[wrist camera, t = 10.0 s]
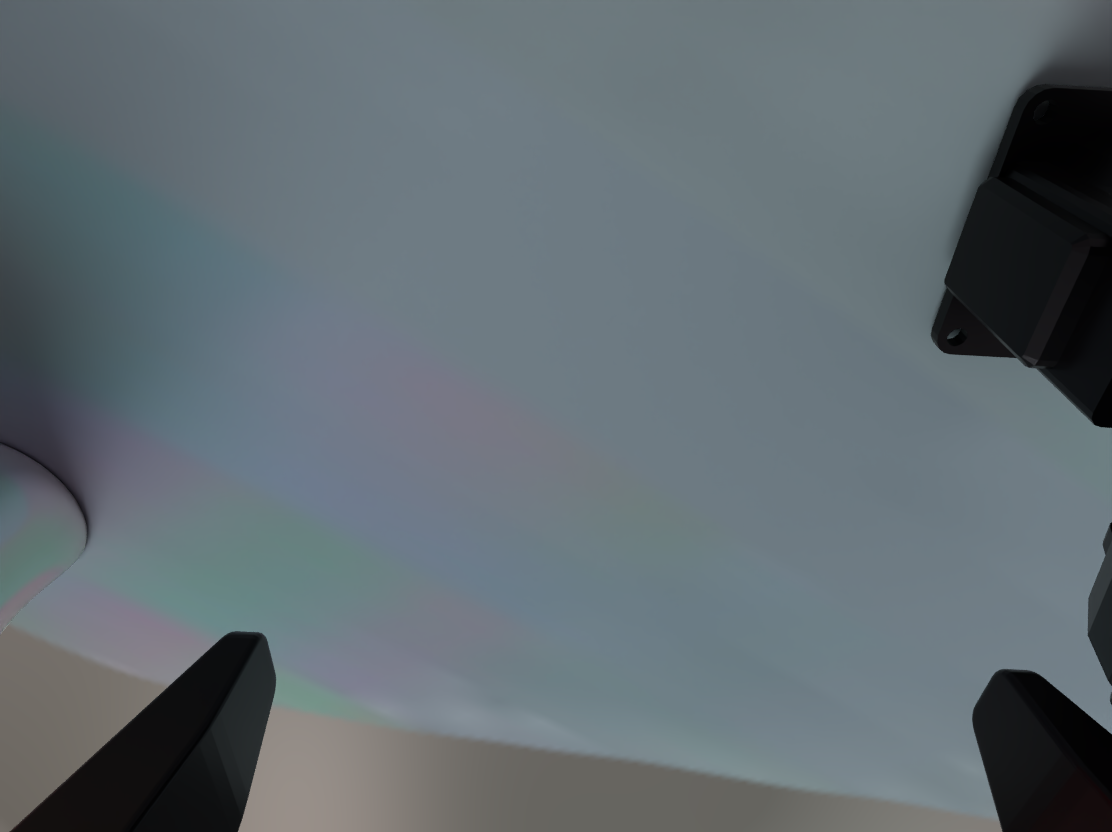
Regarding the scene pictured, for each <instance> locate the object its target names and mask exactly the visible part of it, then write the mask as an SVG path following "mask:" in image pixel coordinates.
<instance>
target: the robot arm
mask: <svg viewBox="0 0 1112 832" xmlns="http://www.w3.org/2000/svg"><path fill="white" fill-rule="evenodd" d="M1047 100H1048V102H1049V106H1048V110H1047V112H1046V113H1045V115H1044V116H1042V117H1041V118H1040V119H1038V120H1034V119H1033V116H1034V111H1035V109H1036V108H1037V106H1038V105H1039V104H1041V103H1042V102H1044V101H1047ZM944 282H945V285H946V286H947V290H946V292H945V295H944V298H943V300H942V303H941V306H940V309H939V311H938V314H937V317H936V319H935V322H934V325H933V327H932V332H931V337H932V340H933V342H934V343H935V344H936V346H937V347H938V348H939V349H940V350H941V351H943V352H944V353H947V354H955V355H973V356H991V357H1009V358H1018V359H1019V360H1020V361H1021V362H1022V363H1023V364H1024V365H1025V366H1026V367H1029V368H1036V369H1037V370H1038V371H1039V372H1040V373H1041V374H1042V375H1043V376H1045V377H1046V378H1047V379H1048V380H1049V381H1050V382H1051V383H1052V384H1053V385H1054V386H1055V387H1056V388H1057V389H1058V390H1059V391H1060V392H1061V393H1062V394H1063V395H1064V396H1065V397H1066V398H1067V399H1068V400H1069V401H1070V402H1071V403H1072V404H1073V405H1074V406H1075V407H1076V408H1078V409H1079V410H1080V411H1081V412H1082V413H1083V414H1084V415H1085V416H1086V417H1087V418H1088V419H1089V420H1090V421H1091V422H1092V423H1093V424H1094V425H1096V426H1099V427H1107V428H1112V88H1101V87H1084V86H1067V85H1050V84H1044V85H1037V86H1035V87H1033V88H1031V89H1029V90H1027V91H1026V92H1025V93H1024V94H1023V95H1022V96H1021V97H1020V98H1019V99H1018V101H1017V103H1016V105H1015V106H1014V109H1013V111H1012V114H1011V117H1010V120H1009V122H1008V125H1007V128H1006V130H1005V133H1004V136H1003V138H1002V141H1001V144H1000V147H999V149H998V152H997V155H996V157H995V160H994V163H993V165H992V168H991V171H990V174H989V176H988V179H987V180H986V181H985V182H983V183H982V184H981V185H980V186H979V187H978V190H977V192H976V195H975V198H974V201H973V203H972V206H971V209H970V212H969V214H968V217H967V220H966V223H965V225H964V228H963V231H962V233H961V236H960V239H959V242H958V244H957V247H956V250H955V253H954V255H953V258H952V261H951V264H950V266H949V269H948V272H947V274H946V277H945V281H944ZM960 328H961V331H960V332H959V334H958V335H957V336H955V337H954V338H950V339H947V336H948V335H949V334H950V332H952V331H953V330H955V329H960ZM1103 548H1104V551H1105V555H1106V556H1105V558H1104V561H1103V563H1102V566H1101V568H1100V571H1099V573H1098V576H1097V578H1096V581H1095V583H1094V586H1093V588H1092V591H1091V593H1090V595H1089V601H1088V637H1089V639H1090V641H1091V644H1092V646H1093V648H1094V650H1095V652H1096V655H1097V657H1098V659H1099V661H1100V664H1101V666H1102V668H1103V670H1104V673H1105V675H1106V677H1107V679H1108V681H1109V683H1110V684H1111V686H1112V523H1110V525H1109V528H1108V531H1107V533H1106V536H1105V538H1104V541H1103ZM275 687H276V675H275V670H274V666H273V662H272V658H271V654H270V650H269V646H268V642H267V639H266V637H265V636H264V635H263V634H262V633H259V632H240V631H235V632H230V633H228V634H226V635H225V636H224V637H222V638H221V639H220V640H219V641H218V642H217V643H216V644H215V645H213V646H212V647H211V648H210V649H209V650H208V651H207V652H206V653H205V654H204V655H203V656H201V657H200V658H199V659H198V660H197V661H196V662H195V663H194V664H193V665H192V666H191V667H189V668H188V669H187V670H186V671H185V672H184V673H183V674H182V675H181V676H180V677H178V678H177V679H176V680H175V681H174V682H173V683H172V684H171V685H170V686H169V687H168V688H166V689H165V690H164V691H163V692H162V693H161V694H160V695H159V696H158V697H157V698H155V699H154V700H153V701H152V702H151V703H150V704H149V705H148V706H147V707H146V708H145V709H143V710H142V711H141V712H140V713H139V714H138V715H137V716H136V717H135V718H134V719H133V720H132V721H130V722H129V723H128V724H127V725H126V726H125V727H124V728H123V729H122V730H120V731H119V732H118V733H117V734H116V735H115V736H114V737H113V738H112V739H111V740H110V741H108V742H107V743H106V744H105V745H104V746H103V747H102V748H101V749H100V750H99V751H97V752H96V753H95V754H94V755H93V756H92V757H91V758H90V759H89V760H88V761H87V762H85V763H84V764H83V765H82V766H81V767H80V768H79V769H78V770H77V771H76V772H75V773H74V774H72V775H71V776H70V777H69V778H68V779H67V780H66V781H65V782H64V783H63V784H61V785H60V786H59V787H58V788H57V789H56V790H55V791H54V792H53V793H52V794H50V795H49V796H48V797H47V798H46V799H45V800H44V801H43V802H42V803H41V804H39V805H38V806H37V807H36V808H35V809H34V810H33V811H32V812H31V813H30V814H29V815H27V816H26V817H25V818H24V819H23V820H22V821H21V822H20V823H19V824H18V825H17V826H16V827H14V828H13V829H12V830H11V831H10V832H238V830H239V827H240V824H241V821H242V818H243V814H244V811H245V807H246V803H247V800H248V796H249V792H250V788H251V784H252V780H253V776H254V772H255V769H256V765H257V761H258V757H259V753H260V749H261V745H262V741H263V737H264V733H265V729H266V725H267V721H268V717H269V714H270V710H271V706H272V702H273V698H274V694H275ZM1110 702H1111V704H1112V692H1111V696H1110ZM972 721H973V728H974V732H975V736H976V739H977V743H978V747H979V750H980V754H981V757H982V761H983V764H984V768H985V771H986V775H987V778H988V782H989V786H990V789H991V793H992V796H993V800H994V803H995V807H996V810H997V814H998V817H999V821H1000V825H1001V828H1002V832H1112V734H1111V733H1109V732H1108V731H1107V730H1106V729H1105V728H1103V727H1102V726H1101V725H1100V724H1099V723H1097V722H1096V721H1095V720H1094V719H1093V718H1091V717H1090V716H1089V715H1088V714H1087V713H1085V712H1084V711H1083V710H1082V709H1080V708H1079V707H1078V706H1077V705H1076V704H1074V703H1073V702H1072V701H1071V700H1070V699H1068V698H1067V697H1066V696H1065V695H1064V694H1062V693H1061V692H1060V691H1059V690H1058V689H1056V688H1055V687H1054V686H1053V685H1052V684H1050V683H1049V682H1048V681H1047V680H1046V679H1044V678H1043V677H1042V676H1040V675H1039V674H1037V673H1035V672H1033V671H1028V670H1013V669H1001V670H999V671H997V672H996V673H995V674H994V675H993V676H992V678H991V680H990V681H989V683H988V685H987V686H986V688H985V690H984V691H983V693H982V695H981V697H980V698H979V700H978V702H977V703H976V705H975V707H974V710H973V716H972Z"/></svg>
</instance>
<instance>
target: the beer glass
mask: <svg viewBox="0 0 1112 832" xmlns="http://www.w3.org/2000/svg"><path fill="white" fill-rule="evenodd" d="M86 541H87V527H86V522H85V518H84V516H83V513H82V511H81V509H80V507H79V505H78V503H77V501H76V500H75V498H74V497H73V495H72V494H71V493H70V491H69V490H68V489H67V488H66V487H65V485H64V484H63V483H62V482H61V481H60V480H59V479H58V478H57V477H55V476H54V475H53V474H52V473H51V472H50V471H48V470H47V469H46V468H45V467H43V466H42V465H40V464H39V463H38V462H36V461H35V460H33V459H31V458H30V457H28V456H26V455H24V454H23V453H21V452H19V451H17V450H15V449H13V448H10V447H8V446H6V445H3V444H1V443H0V634H1V633H2V632H3V630H4V629H5V628H6V627H7V626H8V625H9V623H10V622H11V621H12V620H13V619H14V617H15V616H16V615H17V614H18V613H19V612H20V611H21V610H22V609H23V608H24V607H25V606H26V605H27V604H28V603H29V602H30V601H31V600H32V599H33V598H34V597H36V596H37V595H38V594H39V593H40V592H41V591H42V590H44V589H45V588H46V587H47V586H48V585H50V584H51V583H52V582H53V581H55V580H56V579H57V578H58V577H60V576H61V575H62V574H63V573H64V572H66V571H67V570H68V569H69V568H70V567H71V566H72V565H73V564H74V563H75V562H76V561H77V560H78V559H79V557H80V556H81V554H82V552H83V550H84V548H85V545H86Z"/></svg>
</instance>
